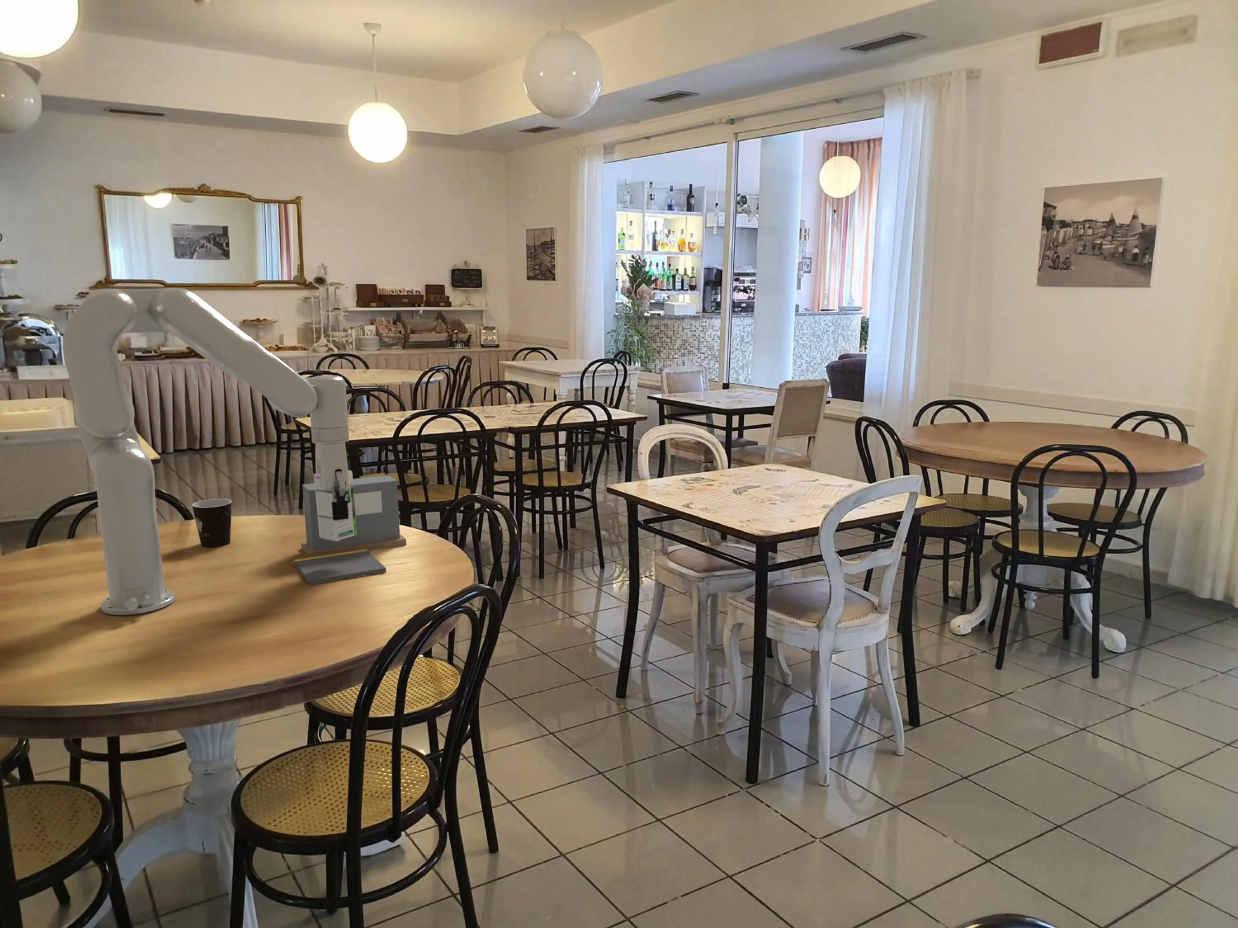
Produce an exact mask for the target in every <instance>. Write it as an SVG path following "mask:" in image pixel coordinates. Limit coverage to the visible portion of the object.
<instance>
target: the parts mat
mask: <svg viewBox="0 0 1238 928" xmlns="http://www.w3.org/2000/svg"><path fill="white" fill-rule="evenodd" d="M293 565H294V566H295V568H296V569H297V571H298V572H299V573H300V575H301V576H302V577H303V579H304V580H305V581H306V582H307V584H308V585H309V586H310V585H317V584H323V583H329V582H335V581H334V580H336V581H339V580H338V579H343V580H346V579H345V578H349V579H351V578H350V577H355V578H358V577H357V576H361V577H364V576H363V575H367V576H372V575H371V574H373V575H376V574H375V573H379V574H384V573H383V572H385V573H387V567H386V566H385V565H384V564H383V563H381V561H379V560H378V559H377V558H376V556H374V555H373V554H372V553H371V552H370V551H368V550H367V549H364V550H357V551H350V552H344V553H337V554H330V555H323V556H317V557H310V558H309V557H306V558H297V559H294V560H293Z"/></svg>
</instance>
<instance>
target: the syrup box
mask: <svg viewBox="0 0 1238 928" xmlns="http://www.w3.org/2000/svg"><path fill="white" fill-rule="evenodd" d="M320 477H321V476H320V473H316V472H315V473H314V474H313V479H314V481H313V483H315V493H316V504H317V515H318V526H319V536H320V538H323V539H327V540H332V541H339V540H342V539H345V538H348V537H352V536H355V535H357V526H356V514H355V501H354V488H353V479H354V478H353V471H352V470H349V469H348V487H347V488H346V493H347V500H348V514H349V518H348V519H344V520H336V521H334V520H333V515H332V502H333V498H332V492H331V488H329V490H325V489H323V488H322V487H321V479H320ZM335 478H336V477H335ZM344 482H345V481H344ZM345 484H346V483H345ZM333 487H338V484H335V481H334V484H333ZM335 493H337V491H335Z"/></svg>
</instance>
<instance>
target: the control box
mask: <svg viewBox="0 0 1238 928" xmlns="http://www.w3.org/2000/svg"><path fill="white" fill-rule="evenodd" d="M353 488H354V501H355V514H356V526H357V535H355V536H352V537H348V538H345V539H342V540H339V541H332V540H327V539H323V538H320V536H319V526H318V515H317V504H316V493H315V482H312V483H307V484H302V494H303V495H302V497H303V509H304V523H305V536H306V538H305V539H306V541H301V542H300V544H301V545H300V546H301V549H302V551H303V552H304V554H305V555H307V558H310V557H317V556H323V555H330V554H337V553H344V552H350V551H357V550H364V549H367V550H368V551H369V552H370V551H376V550H383V549H388V548H395V547H401V546H406V545H407V538H406V537H405V536H403V535H402V534H401V532H400V531H401V530H400V513H399V498H398V497H399V495H398V480H397V479H396V478H394V477H392V476H390V475H389V474H387V475H378V476H369V477H367V476H366V477H361V478H360V477H359V478H353Z"/></svg>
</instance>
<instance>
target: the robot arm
mask: <svg viewBox="0 0 1238 928" xmlns="http://www.w3.org/2000/svg"><path fill="white" fill-rule="evenodd" d="M76 308H77V309H75V310H74V312H73V313H71V316H70V318H69V320H68V321H67V323H66V326H65V328H64V331H63V334H62V335H63V336H62V354H63V359H64V363H65V367H66V371H67V374H68V380H69V384H70V387H71V391H72V394H73V398H74V401H73V404H72V408H73V415H74V419H75V422H76V426H77V429H78V432H79V436H80V439H81V442H82V446H83V448H84V452H85V456H86V458H87V461H88V464H89V467H90V470H91V472H92V474H93V476H94V479H95V480H94V481H95V484H96V485H95V486H96V494H97V495H96V497H97V507H98V517H99V525H100V532H101V539H102V548H103V557H104V563H105V564H104V565H105V572H106V574H105V575H106V580H107V581H106V582H107V590H108V596H109V597H107V598H105V599H104V600H102V602H101V604H100V609H101V612H102V613H105V614H107V615H114V616H129V615H130V616H131V615H140V614H144V613H150V612H153V611H157V610H160V609H162V608H165V607H167V606H168V605H170V604H172V603H173V602H174V601H175V593H174V592H173V591H172V590H170V589H168V588H165V579H164V578H165V577H164V570H163V561H162V551H161V550H162V549H161V541H160V533H159V531H160V530H159V523H158V516H157V515H158V514H157V507H156V487H155V482H156V481H155V470H154V465H153V463H152V461H151V459H150V456H148V454H147V452H145V450H144V449H143V448H142V446H141V442H140V439H139V436H138V433H137V432H138V431H137V429H136V425H135V422H134V420H135V407H134V404H133V402H132V399H131V397H130V395H129V393H128V392H129V391H128V389H127V386H126V382H125V379H124V376H123V372H122V367H121V363H120V359H119V355H118V345H119V342H120V340H121V338H123V336H124V335H125V334H137V333H138V334H142V333H143V334H144V333H162V332H163V333H164V332H169V333H171V334H172V335H174V337H176V338H178V339H179V340H181V341H182V342H183V343H184V344H185V345H187V346H189V347H190V348H191V349H192V350H194V351H195V352H196V353H198V354H199V355H201V357H203V358H204V359H205V360H207V361H208V362H209V363H210V364H212V365H213V366H215V367H216V368H218V369H219V370H221V371H222V372H224V373H225V374H227V375H230V376H232V377H234V378H235V379H238V381H241V382H243V383H244V384H246V385H248V386H250V387H251V388H252V389H253V390H255V391H256V392H258V393H260V394H261V395H262V396H263V397H264V398H266V399H267V401H268V403H269V405H270V406H271V407H272V408H273V409H275V410H276V411H278V412H279V413H280V412H281V413H283V414H286V415H288V416H290V417H292V418H293V417H294V418H302V417H305V416H309V417H310V419H309V420H310V430H311V432H310V433H311V442H312V443H313V444H315V449H314V450H315V451H314V452H315V456H314V457H315V473H320V476H321V477H320V479H321V487H322V488H323V489H325V490H329V488H331V492H332V498H333V502H332V515H333V520H334V521H336V520H344V519H348V518H349V514H348V500H347V493H346V488H347V487H348V470H349V467H348V457H347V449H346V442H349V441H350V430H349V418H348V417H349V416H348V415H349V414H348V402H347V387H346V381H345V379H344V378H343V376H339V375H331V374H329V375H328V374H327V375H317V376H313V377H303V376H301V375H300V374H299V373H298V372H297V371H295V370H294V369H293V368H291V367H290V366H288V364H286V363H285V362H283V361H282V360H280V359H279V358H278V357H277V356H275V355H274V354H272V353H271V352H270V351H269V350H267V349H266V348H265V347H263V346H262V345H261V344H260V343H258V341H256V340H254V339H253V338H252V337H250V336H249V335H247V334H246V333H245V331H242V330H241V329H240V328H239V327H237V326H236V325H235V324H234V323H232V322H231V321H229V320H228V318H226V317H225V316H223V315H222V314H221V313H219V312H218V311H217V310H216V309H215V308H213V307H212V306H211V305H209V304H208V303H207V302H206V301H205V300H203V299H202V298H201V297H199V296H198V295H197V294H195V293H194V292H193V291H190V290H188V289H186V288H181V287H164V288H162V287H161V288H99V289H96V290H94V291H92V292H90V293H88V294H87V295H86V296H85V298H84V299H83V301H82V303H81V305H79V307H76ZM335 477H336V478H335ZM334 481H335V484H338V487H333V484H334ZM344 481H345V482H344ZM345 483H346V484H345ZM335 491H337V493H335Z"/></svg>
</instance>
